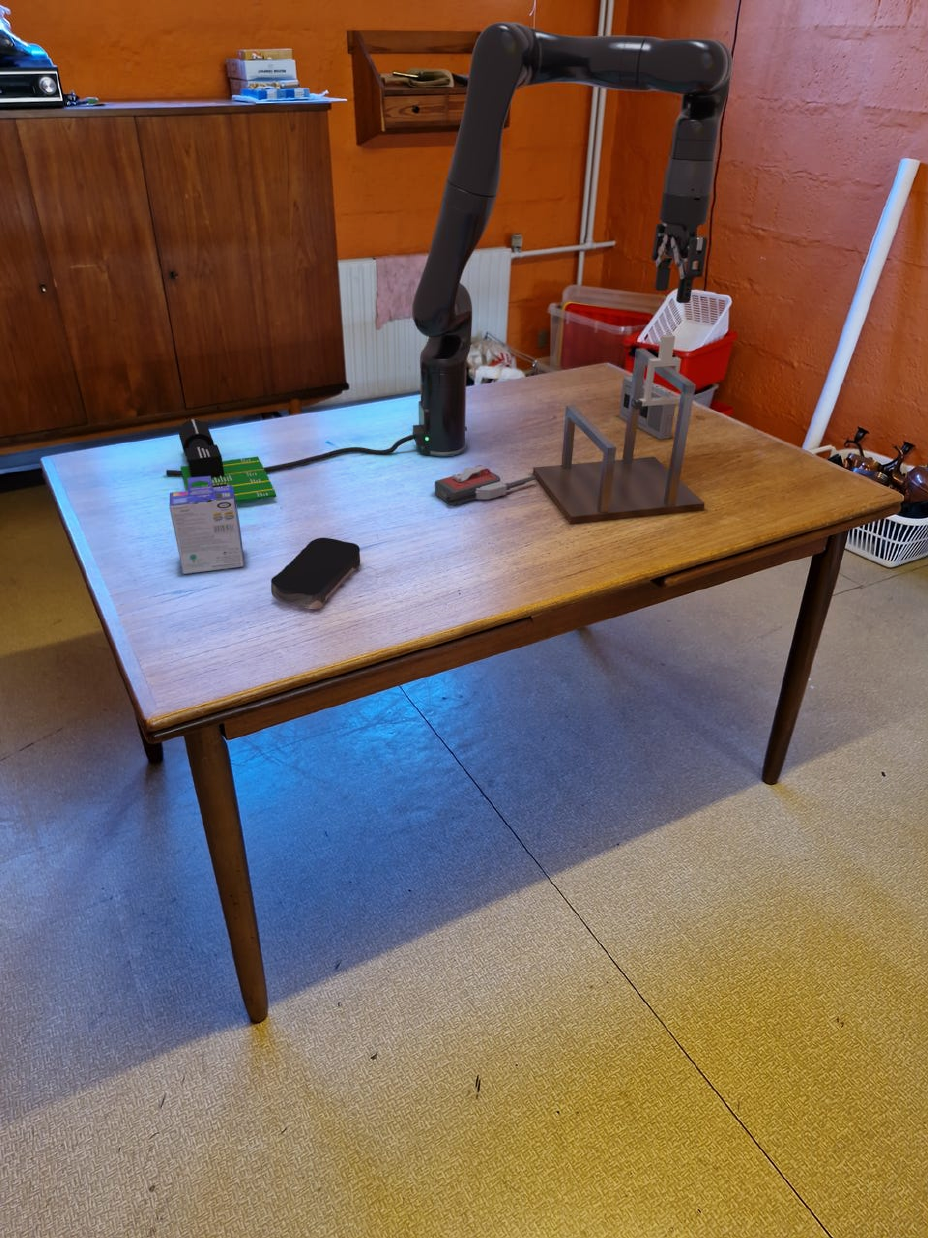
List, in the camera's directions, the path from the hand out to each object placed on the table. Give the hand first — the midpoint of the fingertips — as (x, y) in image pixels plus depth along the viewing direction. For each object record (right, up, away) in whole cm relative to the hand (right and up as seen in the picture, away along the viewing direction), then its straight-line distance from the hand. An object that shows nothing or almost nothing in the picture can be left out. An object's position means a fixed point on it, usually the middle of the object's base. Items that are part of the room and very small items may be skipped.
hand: (671, 296), depth 144 cm
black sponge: (-58, -49, -11) cm, 77 cm away
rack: (-6, -31, +18) cm, 36 cm away
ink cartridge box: (-76, -46, -6) cm, 89 cm away
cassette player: (+5, -12, +47) cm, 49 cm away
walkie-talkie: (-32, -31, +18) cm, 47 cm away
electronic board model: (-82, -27, +21) cm, 89 cm away
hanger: (+1, -16, +11) cm, 19 cm away
